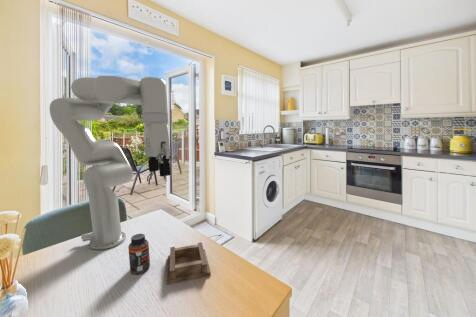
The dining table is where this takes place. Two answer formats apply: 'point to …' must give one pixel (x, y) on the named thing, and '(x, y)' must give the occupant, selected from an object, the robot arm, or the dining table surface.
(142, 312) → the dining table surface
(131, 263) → the supplement bottle
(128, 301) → the dining table surface
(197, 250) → the can holder
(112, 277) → the dining table surface
